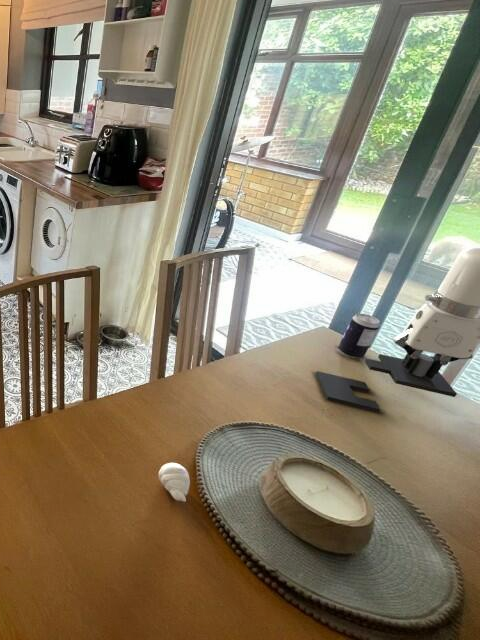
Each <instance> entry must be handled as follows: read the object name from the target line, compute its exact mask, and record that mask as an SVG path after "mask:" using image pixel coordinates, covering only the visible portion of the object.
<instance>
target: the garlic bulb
mask: <svg viewBox="0 0 480 640" xmlns="http://www.w3.org/2000/svg"><path fill="white" fill-rule="evenodd" d="M158 480H159V482H160V483H161V485H162V486H163V487H164V488H165V490H166V491H167V492H168V493H170V495H171V497H172V498H173V499H174V500H176V501H179V502H180V501H181V502H182V503H186V501H187V498H186V496H187V495H188V494H189V490H190V485H191V479H190V474H189V471H188V470H187V469H186V468H185V467H184V466H182V465H181V464H180V463H177V462H167V463H165V464H163V465H162V466H161V467H160V469H159V471H158Z"/></svg>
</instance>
